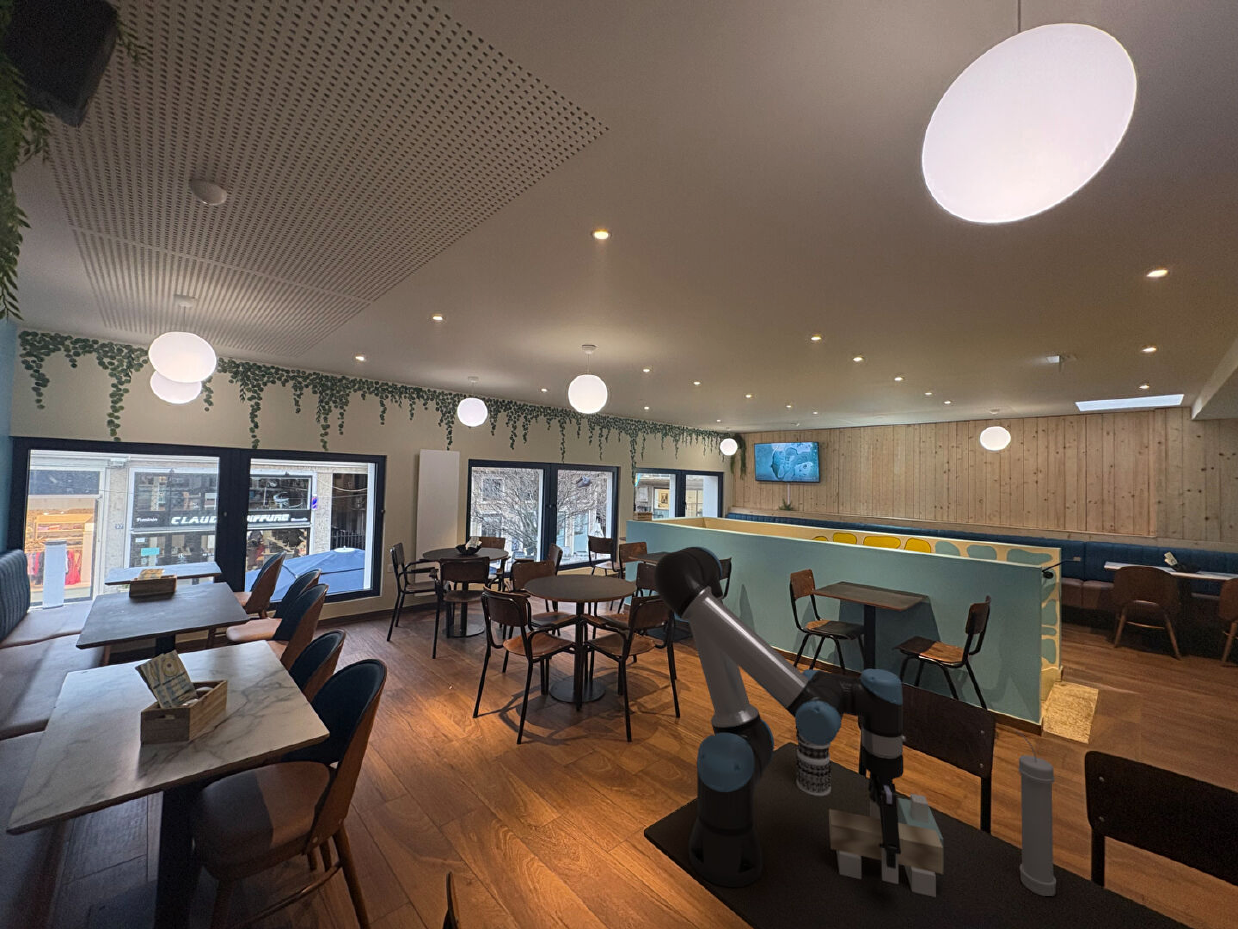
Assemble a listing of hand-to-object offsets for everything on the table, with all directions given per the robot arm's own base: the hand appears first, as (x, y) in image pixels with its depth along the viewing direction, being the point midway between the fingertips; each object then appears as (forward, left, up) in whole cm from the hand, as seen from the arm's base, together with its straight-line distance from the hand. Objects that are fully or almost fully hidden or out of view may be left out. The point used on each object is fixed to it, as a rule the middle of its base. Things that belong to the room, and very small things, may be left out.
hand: (883, 856), depth 101 cm
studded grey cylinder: (-12, +26, -4) cm, 29 cm away
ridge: (+9, +11, -3) cm, 15 cm away
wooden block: (0, 0, +1) cm, 1 cm away
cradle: (0, 0, -3) cm, 3 cm away
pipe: (+28, +6, -4) cm, 29 cm away
